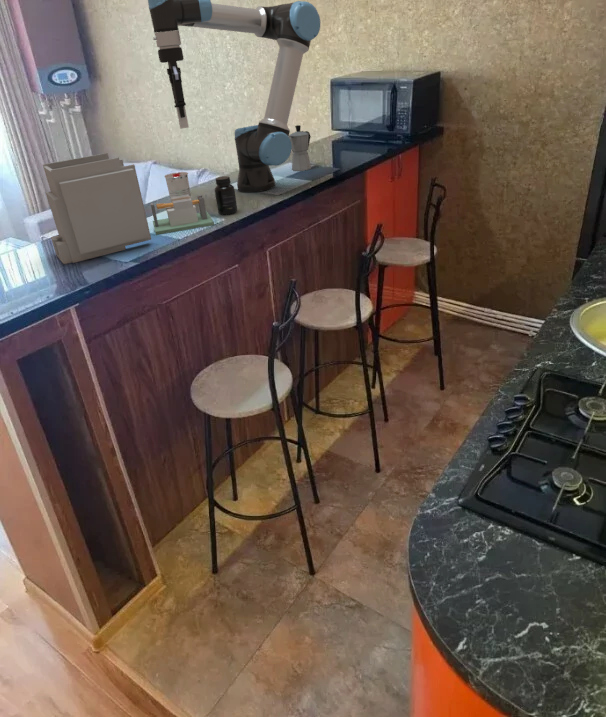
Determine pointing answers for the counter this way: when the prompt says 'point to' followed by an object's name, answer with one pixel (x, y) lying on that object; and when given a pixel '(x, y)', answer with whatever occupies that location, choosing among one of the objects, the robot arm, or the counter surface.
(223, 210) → the supplement bottle
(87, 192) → the grey layered block
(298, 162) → the coffee maker
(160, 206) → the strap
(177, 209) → the board
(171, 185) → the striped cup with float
